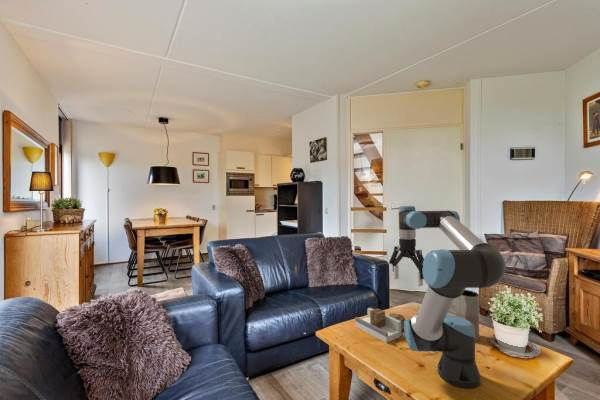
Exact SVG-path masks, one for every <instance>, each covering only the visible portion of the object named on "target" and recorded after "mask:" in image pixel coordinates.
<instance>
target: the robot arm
mask: <svg viewBox="0 0 600 400" xmlns="http://www.w3.org/2000/svg"><path fill="white" fill-rule="evenodd" d="M420 229H440V230H441V231H442V232H443V234H444V235H445V236H446V237H447V238H448V239H449V240H450V241H451V242H452V243H453V244H454V245H455V246H456V247H457V248H458V249H443V248H440V249H434V250H431V251H428V252H427V253H426V254H425V256H423V251H422V249H416V246H417V239H416V235H417V233H416V231H417V230H420ZM398 237H399V238H398V240H399V241H398V245H397V246H396V245H395V246H394V247H393V251H392V254H391V257H390V258H389V261H388V263H389V264H390V265H392V272H393V280H398V279H400V278H399V277H400V276H399V275H400V273H399V272H400V271H399V270H400V269H399V265H398V264H400V262H401V261H402V259H403V258H407V259H410V260H411V261H412V263H414V265H415V267H416V268H417V270H418V271H417V286H418V287H422V286H424V282H425V284H426V285H427V288H426V292H425V295H424V297H423V300H422V302H421V305H420V306H419V307H420V308H419V309H418V310H419V311H418V312H416V313H414V314H413V316H412V318H411V319H409V318H407V319H405V321H404V328H403V330H404V335H405V340H406V344H407V346H408V347H407V348H408V349H409V350H410V351H412V352H418V353H419V352H435V353H436V352H437V353H438V352H439V353H440V352H441V356H440V359H439V360H438V362H437V363H438V364H437V373H438V376H439V377H440V378H441V379H442V380H443V381H445V382H447V383H448V384H450V385H452V386H456V387H458V388H462V389H475V388H477V387H479V386H480V385H481V382H482V379H481V374H480V371H479V368H478V365H477V362H476V341H475V337H476V335H475V328H474V326H473V324H472V323H471V322H470V321H468V320H466V319H464V318H461V317H458V316H456V314H448V313H449V310H450V309H451V307H452V305H453V303H454V300H455V299H456V298H458V297H460V296H461V295H462V294H463V292H464V290H466V289H483V288H484V289H486V288H491V287H493V286H495V285H497V284H498V283H499V282H501V280H502V279H503V278H504V277H505V273H506V269H507V268H506V267H507V266H506V261H505V258H504V257H503V254H501V252H500V251H499V250H498V249H497V248H496V247H495V246H493V245H492V244H490V243H488V242H484V241H483V240H482V239H481V238H480V237H478V236H477V235H476V234H474V232H472V231H471V230H470V229H469V228H468V227H467V226H465V225H464V224H463V223H462V222H461V218H460V215H459V213H458V212H457V211H455V210H416V206H414V205H400V206H399V207H398Z"/></svg>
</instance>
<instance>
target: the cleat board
mask: <svg viewBox="0 0 600 400" xmlns="http://www.w3.org/2000/svg"><path fill="white" fill-rule="evenodd" d="M374 309H375V308H372V307H368V308H367V310H366V311H367V312H366V313H367V317H363V318H360V317H358V316H355V319H354V320H355V323H354V324H355V325H354V326H355V327H356V328H358V329H359V330H362V331H363V332H366V333H367V334H369V335H370V336H371V337H372V336H373V337H374V338H376V339H379V340H380V341H381V342H383V343H386V344H387V343H389V342H392V341H394V340H397V339H399V338H401V337H402V331H401V321H399V320H397V319H395V318H392V317H390V316H389V315H387V314H385V326H384V327H381V328H378V327H376V326H374V325H372V324H370V311H371V310H374ZM400 336H401V337H400ZM396 338H397V339H396Z"/></svg>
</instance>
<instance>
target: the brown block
mask: <svg viewBox="0 0 600 400" xmlns="http://www.w3.org/2000/svg"><path fill="white" fill-rule="evenodd" d="M373 309H374V310H371V311H370V324H372V325H374V326H376V327H378V328H381V327H384V326H385V315H386V311H385V310H382V309H380V308H373Z"/></svg>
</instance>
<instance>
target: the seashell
mask: <svg viewBox="0 0 600 400" xmlns="http://www.w3.org/2000/svg"><path fill="white" fill-rule="evenodd" d="M388 314H389V315H388V316H390V317H392V318H395V319H397V320H399V321H401V332H402V331H403V330H404V321H405V320H406V318H405V317H404V316H403V314H399V313H393V312H391V313H388Z"/></svg>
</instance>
